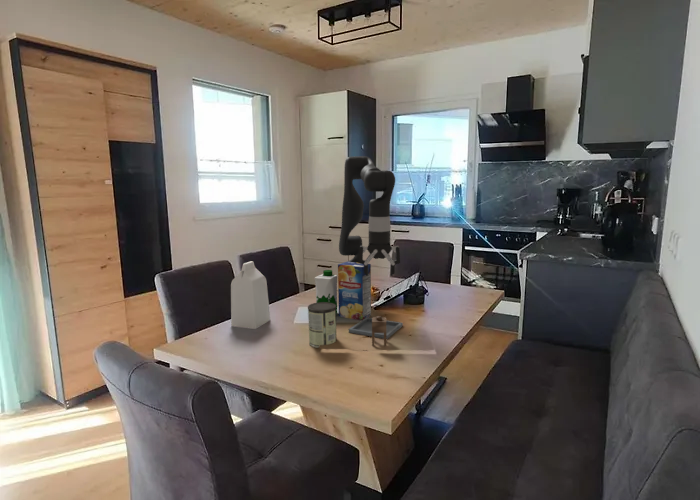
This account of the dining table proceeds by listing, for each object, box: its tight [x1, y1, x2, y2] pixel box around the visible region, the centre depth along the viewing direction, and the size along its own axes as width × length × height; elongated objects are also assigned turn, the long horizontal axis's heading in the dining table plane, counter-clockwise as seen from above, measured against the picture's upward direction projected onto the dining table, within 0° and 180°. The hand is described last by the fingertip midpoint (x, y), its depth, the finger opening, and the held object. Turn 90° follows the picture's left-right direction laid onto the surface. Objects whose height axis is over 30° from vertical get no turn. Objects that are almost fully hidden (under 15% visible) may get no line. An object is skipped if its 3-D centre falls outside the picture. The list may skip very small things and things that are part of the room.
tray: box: [348, 317, 404, 340], centre depth 166 cm, size 16×16×2 cm
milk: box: [230, 260, 271, 330], centre depth 177 cm, size 12×12×26 cm
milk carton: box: [314, 269, 338, 314], centre depth 185 cm, size 9×9×20 cm
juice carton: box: [337, 261, 372, 321], centre depth 181 cm, size 12×8×24 cm, turn 60°
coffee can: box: [307, 302, 337, 349], centre depth 154 cm, size 10×10×14 cm
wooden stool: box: [371, 315, 387, 347], centre depth 151 cm, size 5×5×11 cm
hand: (379, 275), depth 148 cm, fingers open, 8 cm apart
